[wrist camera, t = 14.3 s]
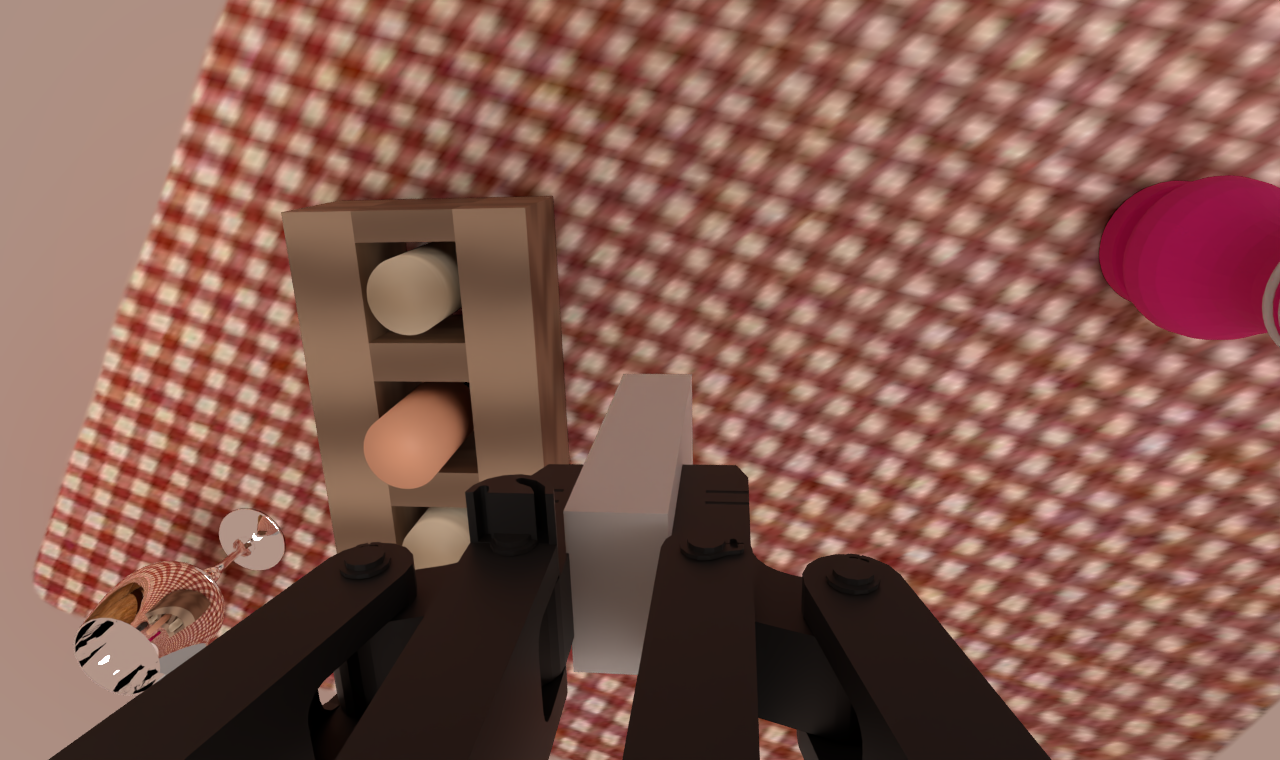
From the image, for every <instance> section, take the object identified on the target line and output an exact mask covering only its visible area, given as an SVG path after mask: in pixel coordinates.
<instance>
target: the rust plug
mask: <svg viewBox="0 0 1280 760" xmlns="http://www.w3.org/2000/svg"><path fill="white" fill-rule="evenodd" d="M473 430H474V424H473V414H472V404H471V394H470V389H469V388H468V387H467V386H466V385H464V384H463V383H461V382H423V383H421V384H420V385H419V386H418V387H417V388H415V389H414V390H413V391H412V392H411V393H409V394H408V395H407V396H406V397H405V398H403V399H402V400H401V401H400V402H399V403H397V404H396V405H395V406H394V407H393V408H391V409H390V410H389V411H388V412H387V413H385V414H384V415H383V416H382V417H381V418H379V419H378V420H377V421H376V422H375V423H374V424H373V425H372V426H371V427H370V428H369V429H368V431H367V433H366V436H365V439H364V455H365V458H366V461H367V463H368V465H369V467H370V469H371V470H372V471H373V473H374V474H375V475H376V476H377V477H378V478H379V479H381V480H382V481H384V482H385V483H387V484H389V485H391V486H394V487H397V488H401V489H413V488H418V487H421V486H423V485H425V484H427V483H428V482H430V481H431V480H432V479H433V478H434V476H435V475H436V474H437V473H438V472H439V470H440V469H441V468H442V467H443V466H444V465H445V463H446V462H447V461H448V460H449V459H450V457H451V456H452V455H453V454H454V453H455V452H456V450H457V449H458V448H459V447H460V446H461V444H462V443H463V442H464V441H465V440H466V439H467V437H468V436H469V435H470V434H471V433H472V431H473Z"/></svg>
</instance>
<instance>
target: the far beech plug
mask: <svg viewBox="0 0 1280 760" xmlns="http://www.w3.org/2000/svg"><path fill="white" fill-rule="evenodd" d="M469 544H470V535H469V526H468V516H467V508H452V507H429V508H428V509H427V510H426V512H425V513H424V514H423V516H422V517H421V518H420V519H419V521H418V522H417V523H416V524H415V526H414V527H413V528H412V529H411V531H410V532H409V533H408V534H407V536H406V537H405V539H404V542H403V545H402V546H403V547H406V548H407V549H408V550H409V551H410V552H411V553H412V554H413V558H414V566H415V570H416V569H423V568H429V567H436V566H443V565H448V564H453V563H457V562H458V561H459V560H460V558H461V556H462V555H463V553H464V552H465V550H466V548H467V547H468V545H469Z"/></svg>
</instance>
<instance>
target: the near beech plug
mask: <svg viewBox="0 0 1280 760" xmlns="http://www.w3.org/2000/svg"><path fill="white" fill-rule="evenodd" d="M367 300H368V304H369V307H370V309H371V311H372V313H373V314H374V316H375V317H376V319H377V320H378V321H379V322H380V323H381V324H382V325H383V326H385V327H386V328H387V329H389V330H391V331H393V332H395V333H398V334H402V335H417V334H420V333H423V332H425V331H427V330H429V329H430V328H432V327H433V326H435V325H436V324H438V323H439V322H441V321H442V320H443V319H445V318H446V317H448V316H449V315H451V314H452V313H454V312H455V311H457V310H458V309H460V308H461V307H462V304H461V294H460V284H459V274H458V264H457V253H456V243H455V241H441V242H430V243H428V244H425V245H423V246H420V247H418V248H415V249H413V250H410V251H408V252H405V253H403V254H400V255H398V256H395V257H393V258H390V259H388V260H385V261H384V262H382V263H380V264H379V265H378V266H377V267H376V268H375V269H374V270H373V272H372V273H371V275H370V277H369V280H368V284H367Z"/></svg>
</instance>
